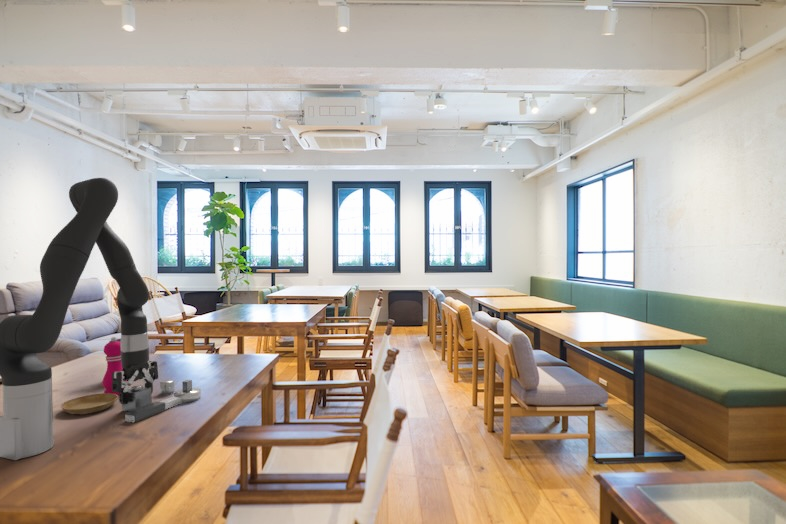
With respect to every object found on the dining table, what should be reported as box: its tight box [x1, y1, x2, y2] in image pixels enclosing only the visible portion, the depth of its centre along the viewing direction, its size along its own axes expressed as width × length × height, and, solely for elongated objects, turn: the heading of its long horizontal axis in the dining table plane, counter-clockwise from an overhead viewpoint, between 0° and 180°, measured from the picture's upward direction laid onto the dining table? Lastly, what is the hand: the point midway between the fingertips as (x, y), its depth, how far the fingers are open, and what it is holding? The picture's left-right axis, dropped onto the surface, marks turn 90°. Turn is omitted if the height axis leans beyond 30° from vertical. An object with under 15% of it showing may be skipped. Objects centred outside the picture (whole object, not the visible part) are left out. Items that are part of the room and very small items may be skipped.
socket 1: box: [121, 385, 153, 412], centre depth 133 cm, size 6×6×7 cm
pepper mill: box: [101, 336, 127, 397], centre depth 147 cm, size 7×7×20 cm
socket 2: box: [159, 379, 176, 396], centre depth 148 cm, size 4×4×4 cm
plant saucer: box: [60, 392, 119, 415], centre depth 134 cm, size 15×15×3 cm
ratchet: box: [124, 379, 202, 424], centre depth 134 cm, size 25×8×6 cm, turn 160°
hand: (136, 399), depth 133 cm, fingers open, 8 cm apart
